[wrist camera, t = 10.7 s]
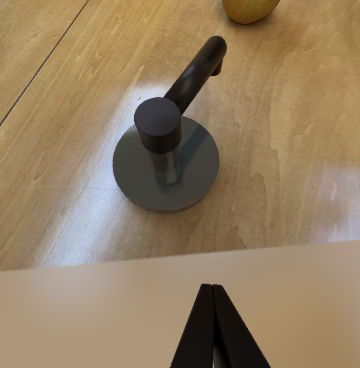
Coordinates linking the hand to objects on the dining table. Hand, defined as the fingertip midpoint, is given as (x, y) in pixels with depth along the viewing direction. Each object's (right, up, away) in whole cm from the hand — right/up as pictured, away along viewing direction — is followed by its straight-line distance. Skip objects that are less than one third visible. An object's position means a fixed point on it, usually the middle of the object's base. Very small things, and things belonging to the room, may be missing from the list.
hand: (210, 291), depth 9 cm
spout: (-1, +12, +13) cm, 18 cm away
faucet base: (-3, +7, +17) cm, 19 cm away
